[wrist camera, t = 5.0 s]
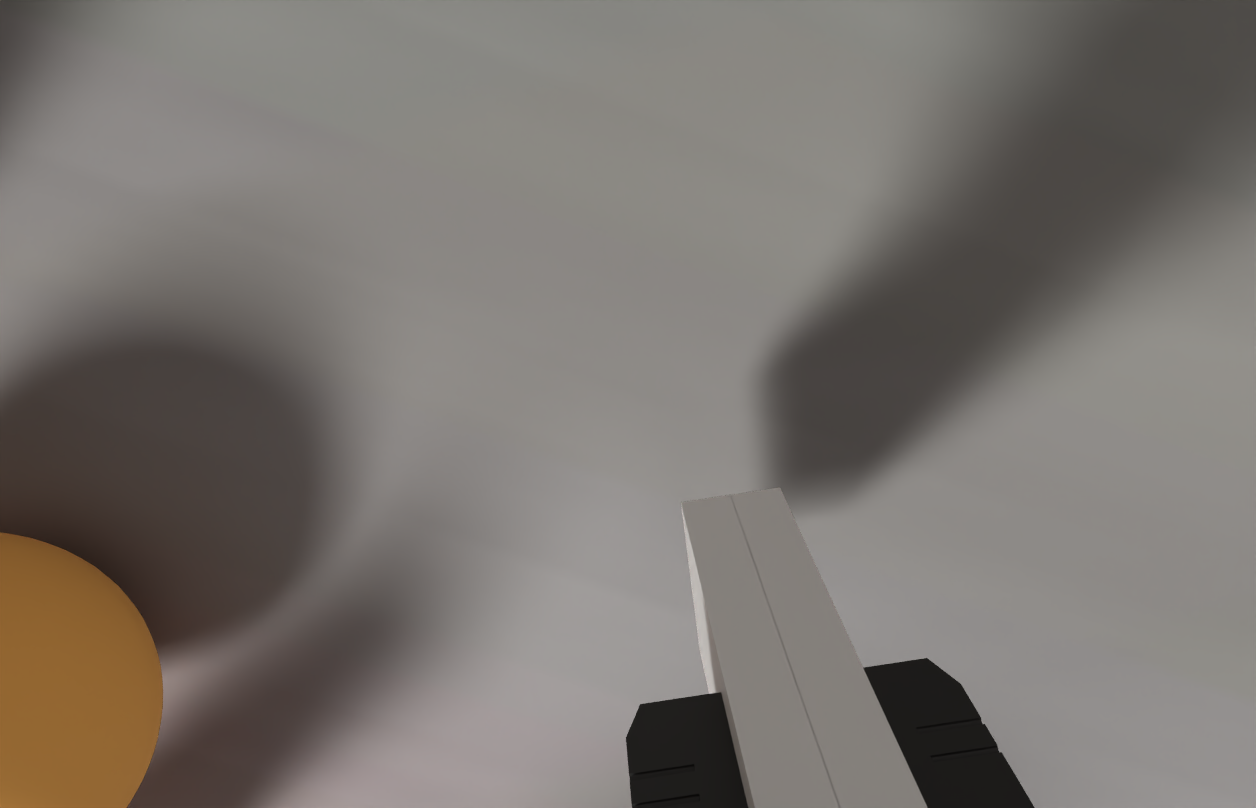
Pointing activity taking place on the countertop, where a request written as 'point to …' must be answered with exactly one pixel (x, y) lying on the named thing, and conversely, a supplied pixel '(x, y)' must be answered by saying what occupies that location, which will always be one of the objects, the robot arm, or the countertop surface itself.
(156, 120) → the countertop surface
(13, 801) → the ball
